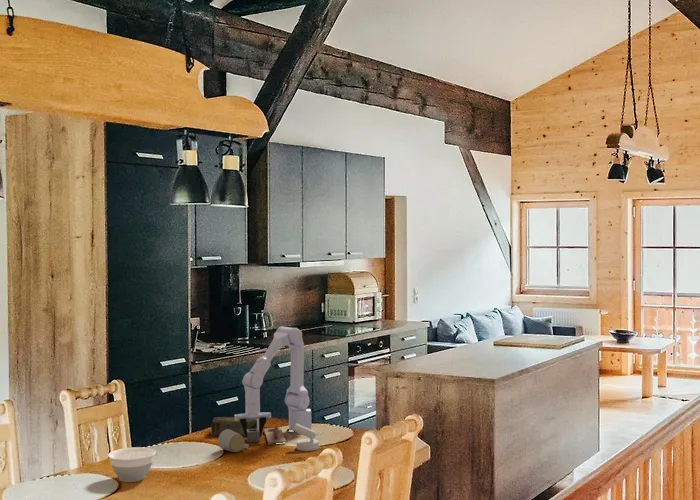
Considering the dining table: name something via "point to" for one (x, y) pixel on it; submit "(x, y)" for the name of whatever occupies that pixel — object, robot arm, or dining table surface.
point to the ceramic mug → (231, 441)
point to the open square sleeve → (253, 435)
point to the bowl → (131, 462)
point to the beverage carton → (232, 425)
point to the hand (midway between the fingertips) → (253, 436)
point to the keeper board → (274, 435)
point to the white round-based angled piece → (306, 443)
